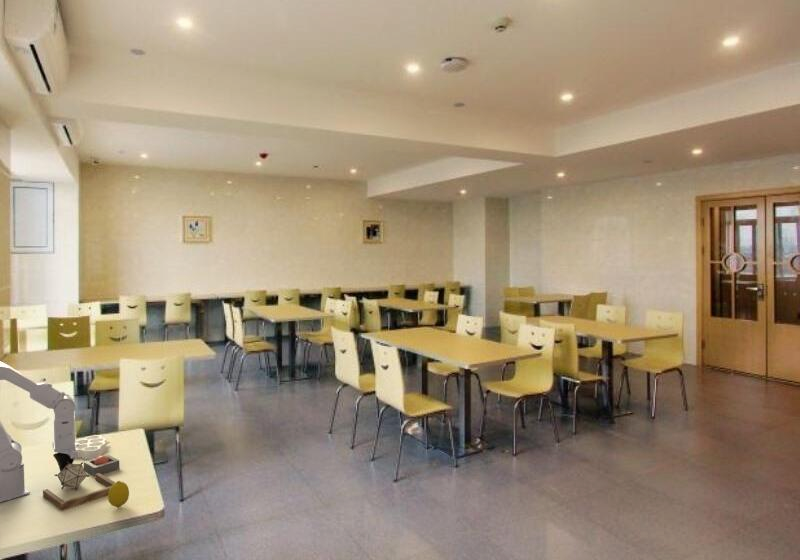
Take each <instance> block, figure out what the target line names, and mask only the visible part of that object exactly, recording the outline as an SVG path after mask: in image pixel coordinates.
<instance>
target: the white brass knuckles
mask: <svg viewBox="0 0 800 560" xmlns="http://www.w3.org/2000/svg"><path fill="white" fill-rule="evenodd" d="M75 443H79V446H77V447H76V450H77V451H78V457H79V458H80V457H82V459H83V458H84V459H83V460H92V459H95V458H97V457H99V456H102V454H103V453H105V452H106V450H107V449H109V448H111V447H110V446H108V444H110V443H111V442H110V441H107V439H106V438H104V437H103V435H101V434H94V435H89V436H86V437H84V438H83V439H82V438H81V439H77V440H76V439H75ZM75 459H77V457H76V458H75Z"/></svg>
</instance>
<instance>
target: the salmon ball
mask: <svg viewBox="0 0 800 560" xmlns="http://www.w3.org/2000/svg"><path fill="white" fill-rule="evenodd" d="M94 459H95V458H94ZM108 462H109V459H108V458H107V457H106V455H101V456H99V457H97V458H96V459H95V462H94V465H96V466H98V465H101V464H105V463H108Z"/></svg>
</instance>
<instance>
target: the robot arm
mask: <svg viewBox="0 0 800 560" xmlns="http://www.w3.org/2000/svg"><path fill="white" fill-rule="evenodd" d="M0 381H7V382H9V383H11V384H13V385H14V386H17V388H18V387H19V388H21V389H22V390H24V391H26V392H28V393H29V397H30V399H31V400H33V401H34V402H36V403H37V404H39V405H42V406H43V407H45V408H46V409H51V410H53V413H54V419H53V420H54V421H53V433H54V434H53V436H54V437H53V439H54V441H53V442H52V449H53V452H55V453H54V454H53V458H54V460H56V464H58V469H59V473H60V472H61V471H62V470H63V469H64V468H65V467H66V465H67V464H68V463H67V462H68V461H69V463H70V464H74V461H75V459H77V458H76V457H78V451H77V450H76V447H77V446H79V443H75V440H76V429H75V428H76V422H75V421H76V419H75V411H76V405H75V401H74V399H73V398H72V397H71V396H70V394H67V393H66V392H64V391H62V392H61V391H59V390H58V389H55V388H54V387H53V384H52V383H50V382H48V383H45V382H38V383H37V382H35V381H34V380H32V379H31V378H29V377H28V376H26V375H24V374H22V373H21V372H19V371H18V370H16V369H15V368H13V367H11V366H10V365H8V364H6V363H4V362H2V361H1V360H0ZM24 464H25V462H24V461H23V454H22V445H21V444H20V443H18V442H17V441H15V440H14V439H13V438H12V436H11V435H10V434H9V433H8V432H7V430H6V429H5V427H4V425H3V423H2V421H0V503H3V502H6V501H9V500H13V499H17V498H19V497H23V496H26V495H28V494H30V493H31V491H29V490H28V489H27V488H25V465H24Z"/></svg>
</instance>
